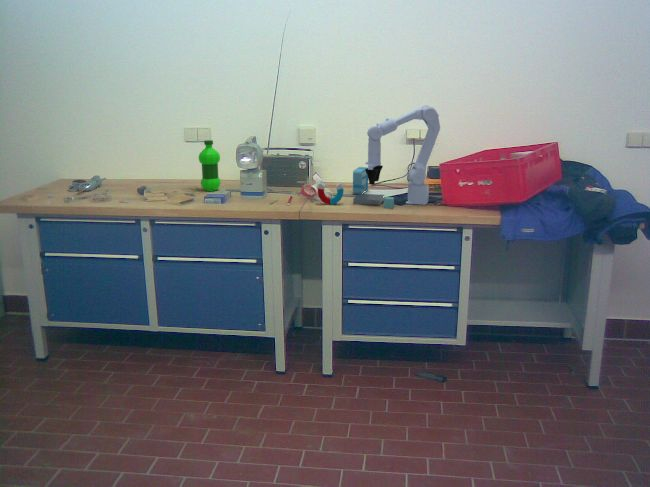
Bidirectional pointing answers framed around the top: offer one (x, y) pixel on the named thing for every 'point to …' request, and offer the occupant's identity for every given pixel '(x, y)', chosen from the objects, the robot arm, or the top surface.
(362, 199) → the base block
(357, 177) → the data package
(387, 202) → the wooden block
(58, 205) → the top surface
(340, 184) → the magnet
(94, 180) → the grey irregular piece
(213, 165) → the plastic bottle
